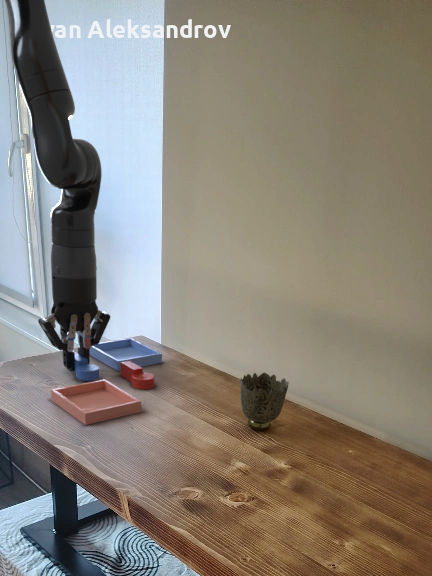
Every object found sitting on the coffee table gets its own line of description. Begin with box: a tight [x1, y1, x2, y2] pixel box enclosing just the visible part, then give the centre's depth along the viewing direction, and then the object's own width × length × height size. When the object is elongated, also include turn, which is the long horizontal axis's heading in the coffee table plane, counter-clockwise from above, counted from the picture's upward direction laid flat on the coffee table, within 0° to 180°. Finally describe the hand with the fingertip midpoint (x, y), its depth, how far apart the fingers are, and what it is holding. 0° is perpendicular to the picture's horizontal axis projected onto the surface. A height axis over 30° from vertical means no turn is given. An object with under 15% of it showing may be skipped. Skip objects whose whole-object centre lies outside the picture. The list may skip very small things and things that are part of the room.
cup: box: [240, 372, 290, 432], centre depth 98 cm, size 8×7×8 cm
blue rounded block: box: [72, 352, 100, 382], centre depth 113 cm, size 8×4×3 cm, turn 40°
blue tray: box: [90, 337, 163, 372], centre depth 124 cm, size 11×10×2 cm
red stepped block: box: [120, 361, 156, 390], centre depth 113 cm, size 8×4×3 cm, turn 40°
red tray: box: [50, 378, 142, 426], centre depth 102 cm, size 11×10×2 cm
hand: (76, 368), depth 115 cm, fingers closed on blue rounded block, 2 cm apart
